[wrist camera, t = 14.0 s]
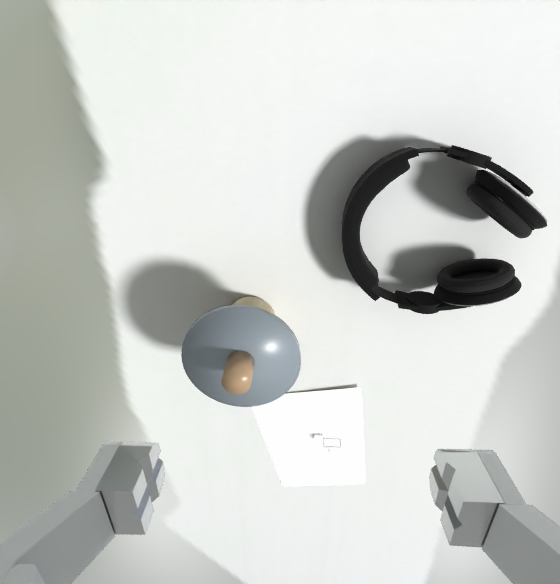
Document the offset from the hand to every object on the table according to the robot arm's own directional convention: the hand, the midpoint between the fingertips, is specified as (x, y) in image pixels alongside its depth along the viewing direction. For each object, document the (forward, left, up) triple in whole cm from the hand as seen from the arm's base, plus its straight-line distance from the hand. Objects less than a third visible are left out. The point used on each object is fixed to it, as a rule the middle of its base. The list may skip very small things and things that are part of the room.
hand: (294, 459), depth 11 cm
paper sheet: (+38, -3, -35) cm, 52 cm away
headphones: (+3, +15, -35) cm, 38 cm away
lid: (+15, -6, -26) cm, 30 cm away
